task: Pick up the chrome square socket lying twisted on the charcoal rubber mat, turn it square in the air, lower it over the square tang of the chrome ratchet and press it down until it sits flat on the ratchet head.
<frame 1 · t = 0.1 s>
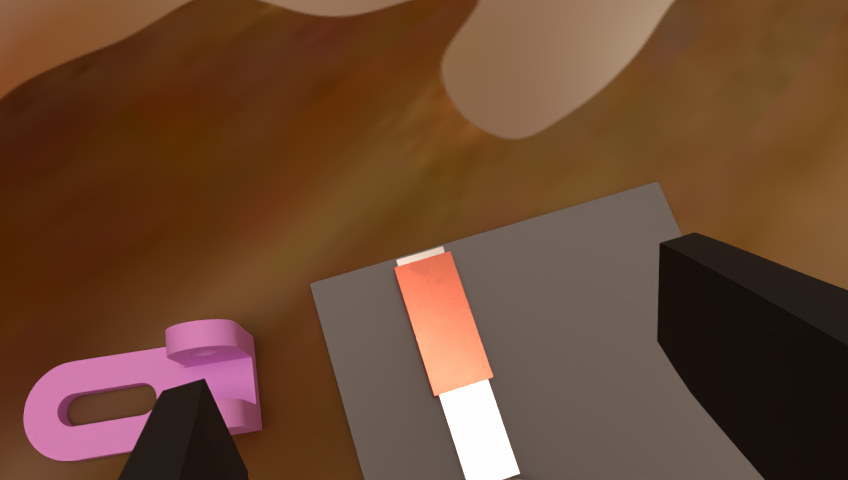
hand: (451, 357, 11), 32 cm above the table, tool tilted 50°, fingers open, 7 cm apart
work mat: (572, 462, 41), on the table
bracket: (149, 401, 41), on the table
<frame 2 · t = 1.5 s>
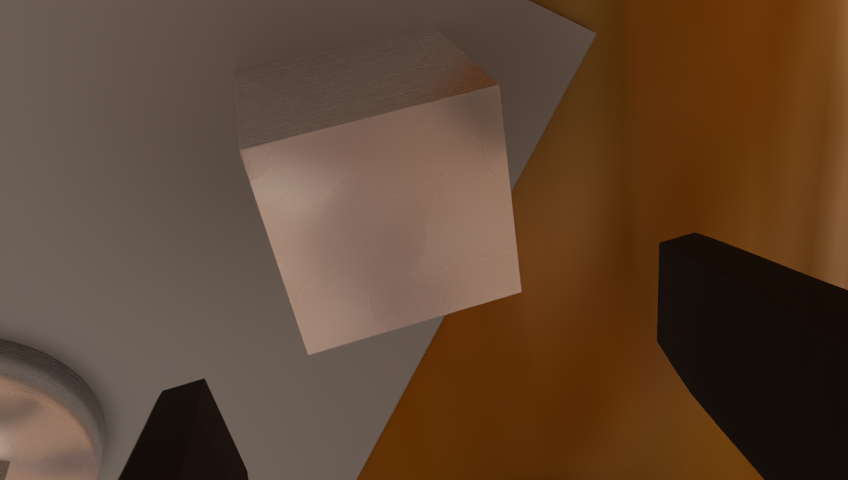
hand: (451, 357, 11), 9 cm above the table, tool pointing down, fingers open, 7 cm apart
socket: (355, 139, 18), resting on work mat
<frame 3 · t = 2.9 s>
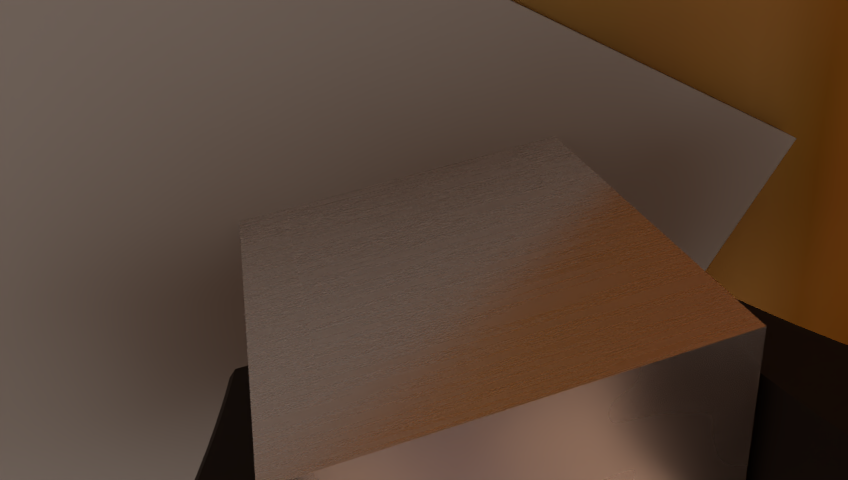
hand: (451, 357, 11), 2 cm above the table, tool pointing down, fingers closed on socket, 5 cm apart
socket: (428, 305, 12), resting on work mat, touching gripper
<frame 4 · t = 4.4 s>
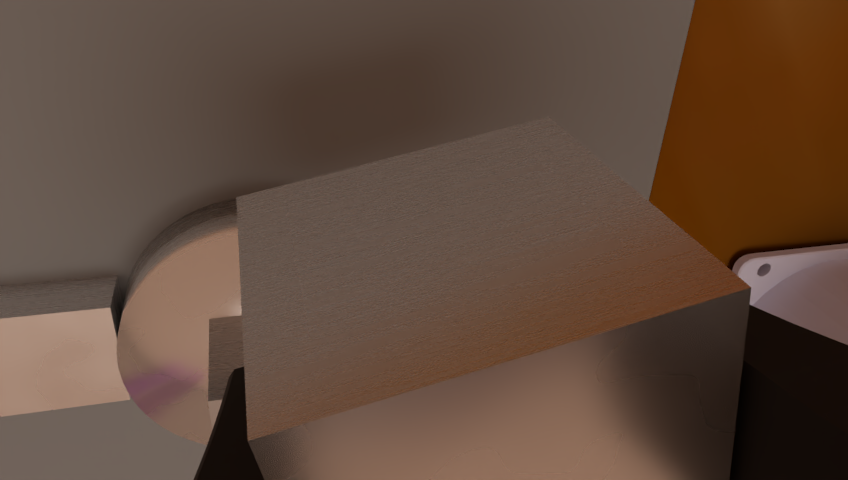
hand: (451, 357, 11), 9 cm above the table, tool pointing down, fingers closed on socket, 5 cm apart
socket: (422, 285, 12), point 7 cm above the table, touching gripper
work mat: (115, 145, 17), on the table
ratchet: (257, 306, 20), resting on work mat
when the fingers open (5 cm above the table, at t = 6.4 s): socket stays where it is, resting on ratchet.
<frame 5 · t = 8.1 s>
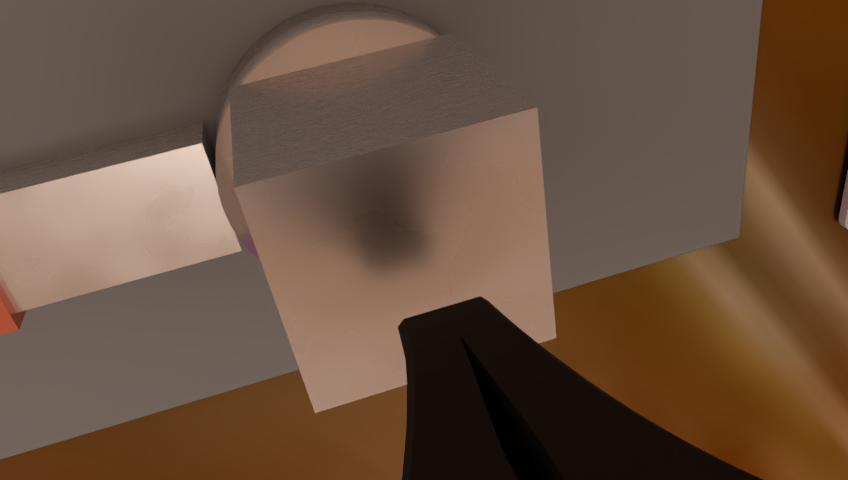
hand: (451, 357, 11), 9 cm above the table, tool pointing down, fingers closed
socket: (366, 161, 16), point 2 cm above the table, touching ratchet
ratchet: (353, 139, 18), resting on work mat, touching socket
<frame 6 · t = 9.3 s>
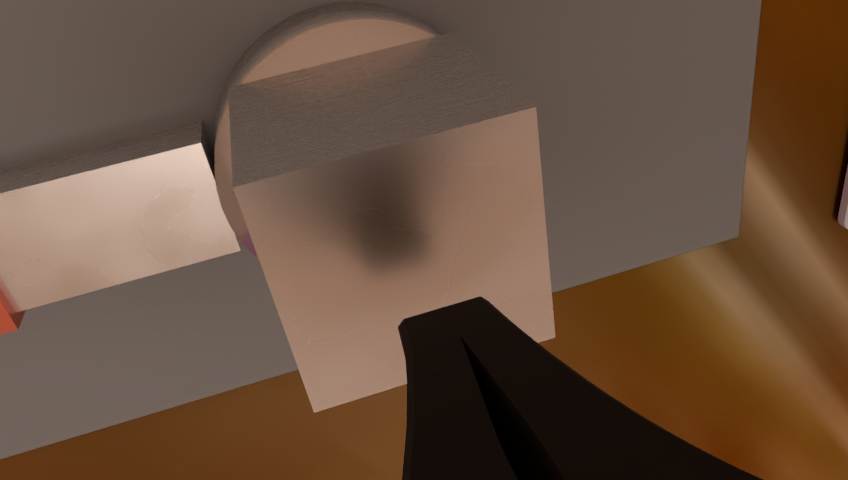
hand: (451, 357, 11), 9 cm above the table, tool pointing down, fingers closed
socket: (365, 161, 16), point 2 cm above the table, touching ratchet
ratchet: (352, 139, 18), resting on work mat, touching socket
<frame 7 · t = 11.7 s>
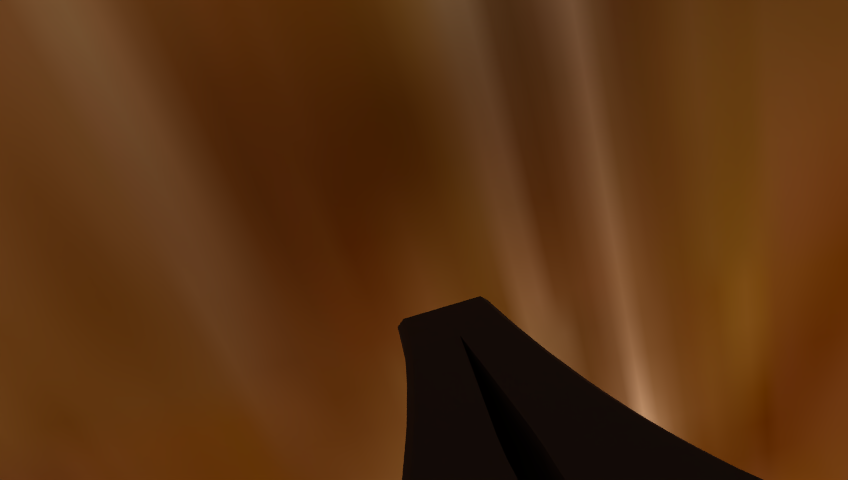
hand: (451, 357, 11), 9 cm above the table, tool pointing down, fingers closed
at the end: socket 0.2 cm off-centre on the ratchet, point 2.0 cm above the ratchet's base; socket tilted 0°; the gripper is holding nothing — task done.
